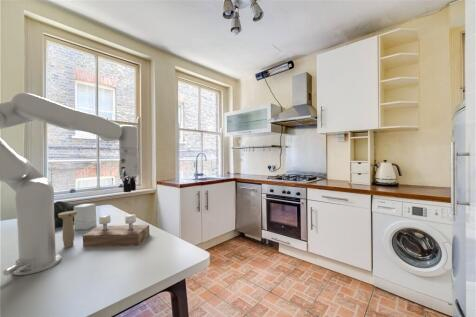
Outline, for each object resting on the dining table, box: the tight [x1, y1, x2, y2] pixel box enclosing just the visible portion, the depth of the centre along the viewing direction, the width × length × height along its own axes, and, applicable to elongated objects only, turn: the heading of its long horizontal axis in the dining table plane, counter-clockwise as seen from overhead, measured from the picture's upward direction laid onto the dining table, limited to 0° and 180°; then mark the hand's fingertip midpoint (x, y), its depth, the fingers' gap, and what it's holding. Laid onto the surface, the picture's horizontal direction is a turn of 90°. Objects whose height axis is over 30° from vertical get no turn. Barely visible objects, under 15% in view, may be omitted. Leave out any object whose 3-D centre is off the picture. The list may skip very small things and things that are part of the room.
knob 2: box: [124, 213, 137, 231], centre depth 95 cm, size 4×4×8 cm
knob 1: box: [98, 214, 111, 231], centre depth 95 cm, size 4×4×8 cm
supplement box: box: [73, 203, 98, 231], centre depth 114 cm, size 7×7×13 cm
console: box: [82, 224, 150, 248], centre depth 95 cm, size 12×24×5 cm, turn 91°
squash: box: [54, 200, 76, 228], centre depth 119 cm, size 14×15×15 cm
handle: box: [58, 211, 77, 248], centre depth 90 cm, size 5×6×15 cm
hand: (129, 190), depth 95 cm, fingers open, 3 cm apart
